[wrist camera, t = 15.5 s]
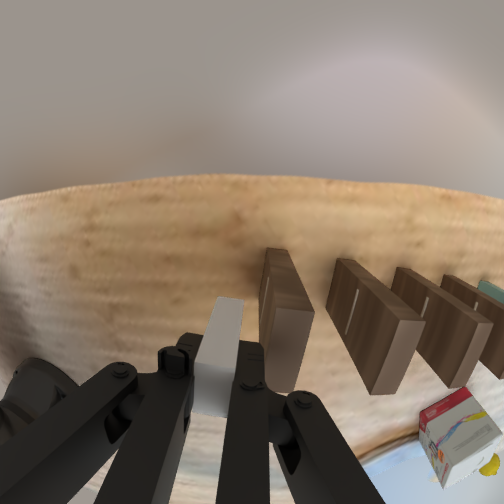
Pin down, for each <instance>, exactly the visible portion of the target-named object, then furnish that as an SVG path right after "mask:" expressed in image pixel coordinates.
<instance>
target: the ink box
mask: <svg viewBox="0 0 504 504" xmlns="http://www.w3.org/2000/svg"><path fill="white" fill-rule="evenodd" d="M502 436H503V433H502V432H501V430H500V429H499V428H498V426H497V425H496V424H495V423H494V421H493V420H492V419H491V417H490V416H489V415H488V414H487V412H486V411H485V410H484V409H483V407H482V406H481V405H480V404H479V403H478V401H477V400H476V399H475V398H474V396H473V395H472V394H471V393H470V392H469V390H468V389H467V388H466V387H463V388H461V389H459V390H458V391H456V392H454V393H453V394H451V395H449V396H448V397H446V398H444V399H443V400H441V401H439V402H437V403H435V404H434V405H432V406H430V407H428V408H427V409H425V410H423V411H421V412H420V430H419V441H420V443H421V445H422V447H423V449H424V451H425V453H426V455H427V457H428V459H429V461H430V463H431V465H432V467H433V469H434V471H435V473H436V475H437V477H438V480H439V482H440V484H441V486H442V488H443V490H444V489H446V488H448V487H450V486H451V485H453V484H455V483H457V482H459V481H460V480H462V479H463V478H465V477H467V476H469V475H471V474H472V473H474V472H475V471H477V470H479V469H480V468H481V467H483V466H484V465H486V464H487V463H489V461H490V460H491V458H492V456H493V454H494V452H495V450H496V448H497V446H498V444H499V442H500V440H501V438H502Z"/></svg>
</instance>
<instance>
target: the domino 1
mask: <svg viewBox="0 0 504 504" xmlns="http://www.w3.org/2000/svg"><path fill="white" fill-rule="evenodd" d="M314 314H315V311H314V309H313V307H312V305H311V302H310V300H309V298H308V295H307V293H306V291H305V289H304V286H303V284H302V282H301V280H300V277H299V275H298V273H297V271H296V269H295V266H294V264H293V262H292V260H291V258H290V255H289V253H288V251H287V250H281V249H274V248H267V252H266V258H265V264H264V271H263V277H262V283H261V289H260V295H259V343H260V344H261V345H262V347H263V348H264V363H265V382H266V384H267V387H268V388H269V389H270V390H272V391H273V392H279V393H291V392H293V390H294V387H295V384H296V380H297V377H298V373H299V370H300V366H301V363H302V359H303V356H304V352H305V348H306V345H307V341H308V337H309V333H310V329H311V326H312V322H313V318H314Z"/></svg>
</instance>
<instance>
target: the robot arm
mask: <svg viewBox="0 0 504 504" xmlns="http://www.w3.org/2000/svg"><path fill="white" fill-rule="evenodd" d="M243 307H244V300H242V299H235V298H228V297H221V296H218V297H217V300H216V303H215V306H214V308H213V311H212V314H211V317H210V319H209V322H208V325H207V328H206V331H205V333H204V335H199V334H193V333H188V332H187V333H185V334H183V335H182V336H180V338H179V340H178V342H177V344H176V346H168V347H164V348H162V349H160V350H159V351H158V371H157V372H155V373H137V370H136V368H135V367H134V366H133V365H131V364H129V363H125V362H115V363H111V364H109V365H107V366H106V367H105V368H103V369H102V370H101V371H99V372H98V373H97V374H95V375H94V376H93V377H91V378H90V379H89V380H87V381H86V382H85V383H83V384H82V385H81V386H79V387H78V386H77V385H76V384H75V383H74V382H73V381H72V380H71V379H70V378H69V377H68V376H66V375H65V374H64V373H63V372H61V371H60V370H59V369H57V368H56V367H54V366H53V365H51V364H49V363H47V362H45V361H43V360H40V359H36V358H29V359H26V360H25V361H24V362H23V363H21V364H20V365H19V366H18V367H17V368H16V370H15V372H14V374H13V378H12V380H11V382H10V384H9V386H8V388H7V390H6V393H5V395H4V397H3V399H2V400H1V401H0V504H67V503H68V502H69V501H70V500H71V499H72V498H73V496H74V495H76V494H77V492H78V491H79V490H80V489H81V488H82V487H83V486H84V485H85V484H86V483H87V482H88V481H89V480H90V479H91V478H92V477H93V476H94V475H95V473H96V472H97V471H98V470H99V469H100V468H101V467H102V466H103V465H104V464H105V463H106V462H107V461H108V459H109V458H110V457H111V456H112V455H113V454H114V453H115V452H116V451H117V450H118V449H119V450H118V452H117V454H116V456H115V458H114V460H113V462H112V464H111V467H110V469H109V471H108V473H107V475H106V477H105V479H104V482H103V484H102V486H101V488H100V490H99V493H98V495H97V497H96V499H95V502H94V504H168V503H169V500H170V496H171V492H172V488H173V484H174V480H175V476H176V473H177V469H178V465H179V461H180V458H181V454H182V450H183V446H184V443H185V439H186V435H187V432H188V428H189V424H190V413H191V410H192V412H194V413H199V414H205V415H211V416H217V417H224V418H227V424H226V431H225V438H224V445H223V452H222V460H221V467H220V474H219V481H218V488H217V496H216V503H215V504H270V475H269V442H271V443H273V447H274V450H275V453H276V455H277V458H278V461H279V463H280V466H281V469H282V471H283V474H284V476H285V479H286V481H287V484H288V487H289V489H290V492H291V494H292V497H293V499H294V502H295V504H386V503H385V502H384V500H383V499H382V497H381V496H380V494H379V493H378V491H377V489H376V488H375V486H374V485H373V483H372V482H371V480H370V479H369V477H368V475H367V474H366V472H365V471H364V469H363V468H362V466H361V464H360V463H359V461H358V460H357V458H356V457H355V455H354V453H353V452H352V450H351V449H350V447H349V445H348V444H347V442H346V441H345V439H344V437H343V436H342V434H341V433H340V431H339V429H338V428H337V426H336V425H335V423H334V421H333V420H332V418H331V416H330V415H329V413H328V412H327V410H326V408H325V407H324V405H323V403H322V402H321V400H320V399H319V398H318V397H317V396H316V395H315V394H313V393H311V392H307V391H299V390H298V391H293V392H291V393H290V394H288V396H284V395H280V394H278V393H275V392H273V391H272V390H270V389H269V388H268V387H267V384H266V382H265V363H264V348H263V347H262V345H261V344H260V343H258V342H250V341H243V340H239V338H240V330H241V322H242V314H243Z"/></svg>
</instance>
